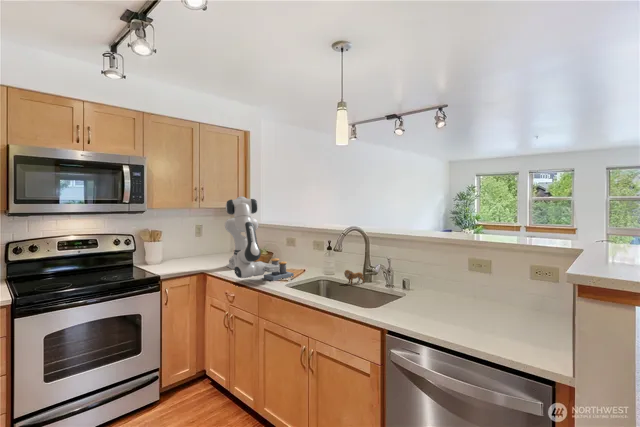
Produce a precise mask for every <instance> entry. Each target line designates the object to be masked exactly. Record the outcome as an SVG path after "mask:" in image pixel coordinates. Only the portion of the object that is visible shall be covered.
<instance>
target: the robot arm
mask: <svg viewBox="0 0 640 427" xmlns="http://www.w3.org/2000/svg"><path fill="white" fill-rule="evenodd" d="M258 210H259V204H258V201H257V200H256V198H246V197H245V196H238V197H236V199H229V200H227V201H226V204H225V211H226V212H227V214H229V215H232V216H233V215H234V216H233V218H228V219H226V220H225V222H224V228H225V231H226V232H228V233H230V235H231V236H232V238H233V240H234V250H233V255H232V256H231V257H230V258H229V260H228V264H226V265H225V266H226V268H230V270H234V274H235V276H236V277H238V279H248V278H252V277H258V276H264V274H265V273H266V272H267V273H272V272H278V271H279V267H280V265H273V264H272V263H267V262H263V261H261V260H260V261H258V260H259V259H260V258H261V254H262V252H261V248H260V247H259V244H258V240H257V239H258V238H257V233H256V231H257V230H258V228H259V225H260V224H259V221H258V219H257V218H254V217H253V216H252V215H253V214H256V213H257V212H258ZM242 233H245V236H244V235H243V234H242Z"/></svg>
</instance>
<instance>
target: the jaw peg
mask: <svg viewBox="0 0 640 427" xmlns="http://www.w3.org/2000/svg"><path fill="white" fill-rule="evenodd" d="M270 261H271V264H273V265H279V262H280V258H279V257H278V258H277V257H275V258H270ZM271 273H272V274H273V275H276V274H279V271H278V272H271Z"/></svg>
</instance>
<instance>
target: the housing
mask: <svg viewBox="0 0 640 427" xmlns="http://www.w3.org/2000/svg"><path fill="white" fill-rule="evenodd" d="M291 276H294V272H291V271H287V270H286V274H280V273H279V274H276V275H273V274H272V272H269V273H266V274H265V273H264V274H263V279H265V280H267V281H268V280H269V281H272V282H275V281H279V280H278V279H281V278H285V279H288V278H287V277H290V278H292V277H291ZM294 277H295V276H294ZM281 280H282V279H281Z"/></svg>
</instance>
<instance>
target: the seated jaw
mask: <svg viewBox="0 0 640 427" xmlns="http://www.w3.org/2000/svg"><path fill="white" fill-rule="evenodd" d="M287 263H288V262H287V261H279V265H280V267H279V273H280V274H286V271H287Z"/></svg>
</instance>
